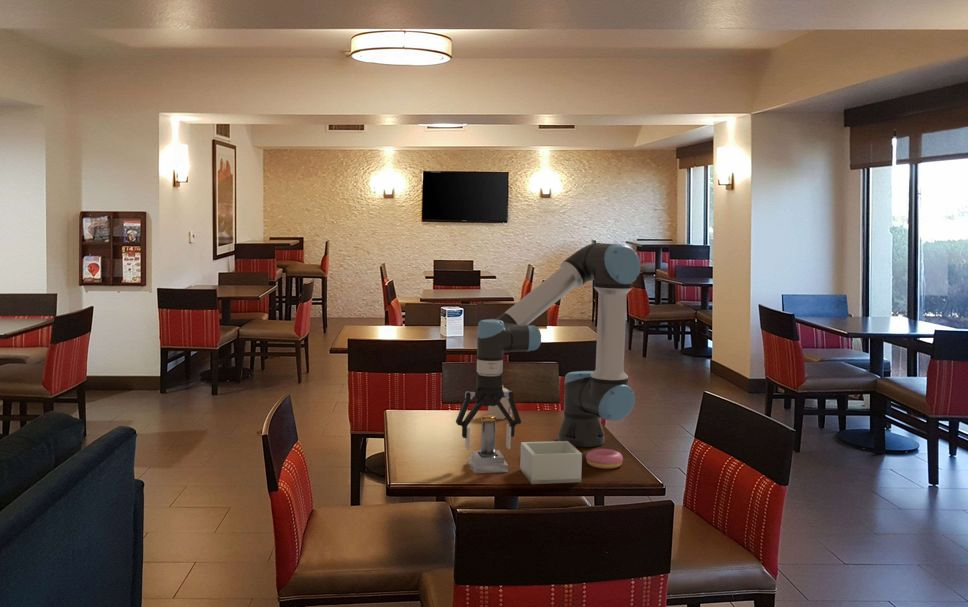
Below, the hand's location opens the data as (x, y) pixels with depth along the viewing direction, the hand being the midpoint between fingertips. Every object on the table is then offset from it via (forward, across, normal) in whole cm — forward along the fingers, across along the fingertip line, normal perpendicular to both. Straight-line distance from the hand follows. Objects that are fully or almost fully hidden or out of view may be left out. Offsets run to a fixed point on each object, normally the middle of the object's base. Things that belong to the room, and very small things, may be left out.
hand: (487, 448), depth 260 cm
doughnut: (+6, +35, -1) cm, 36 cm away
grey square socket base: (+6, 0, 0) cm, 6 cm away
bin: (+6, +16, -10) cm, 20 cm away
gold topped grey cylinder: (+4, 0, 0) cm, 4 cm away
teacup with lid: (+6, +17, +65) cm, 67 cm away
